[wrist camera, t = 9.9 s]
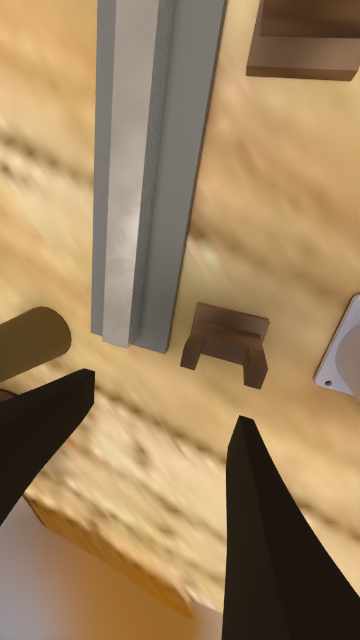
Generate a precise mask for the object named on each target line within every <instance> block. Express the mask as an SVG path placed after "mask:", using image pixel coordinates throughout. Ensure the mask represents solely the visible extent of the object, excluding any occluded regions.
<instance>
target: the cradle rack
mask: <svg viewBox="0 0 360 640" xmlns="http://www.w3.org/2000/svg"><path fill="white" fill-rule="evenodd" d="M359 66H360V0H260V5H259V9H258V14H257V19H256V24H255V28H254V33H253V38H252V43H251V48H250V52H249V57H248V62H247V70H246V75H247V76H266V77H286V78H306V79H326V80H346V81H351V80H352V78H353V77H354V75H355V74H356V72H357V71H358V69H359ZM268 325H269V319H267V318H263V317H258V316H254V315H250V314H246V313H241V312H237V311H233V310H229V309H225V308H220V307H216V306H212V305H208V304H204V303H199V302H198V304H197V306H196V311H195V316H194V320H193V325H192V330H191V334H190V336H189V338H188V340H187V342H186V344H185V346H184V349H183V354H182V359H181V364H180V366H181V367H185V368H188V369H192V370H195V368H196V365H197V362H198V360H199V357H200V354H204V355H208V356H212V357H215V358H219V359H222V360H226V361H230V362H233V363H237V364H240V365H243V371H244V385H246V386H249V387H253V388H256V389H261V387H262V384H263V381H264V379H265V376H266V373H267V371H268V367H267V363H266V359H265V355H264V351H263V346H262V342H263V340H264V337H265V334H266V331H267V328H268Z"/></svg>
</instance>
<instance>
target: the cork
mask: <svg viewBox="0 0 360 640" xmlns="http://www.w3.org/2000/svg"><path fill="white" fill-rule="evenodd" d="M70 345H71V333H70V330H69V328H68V325H67V324H66V322H65V321H64V319H63V318H62V317H61V316H60V315H59V314H58V313H57V312H56V311H54V310H52V309H50V308H47V307H36V308H33V309H31V310H29V311H27V312H25V313H23V314H21V315H19V316H17V317H15V318H13V319H11V320H9V321H7V322H5V323H2V324H0V382H2V381H5V380H7V379H9V378H12V377H14V376H16V375H18V374H21V373H23V372H25V371H27V370H30V369H32V368H34V367H36V366H39V365H41V364H43V363H45V362H48V361H50V360H52V359H55V358H57V357H59V356H61V355H63V354H65V353H66V352H67V351H68V350H69V348H70Z"/></svg>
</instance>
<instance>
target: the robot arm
mask: <svg viewBox="0 0 360 640" xmlns="http://www.w3.org/2000/svg"><path fill="white" fill-rule="evenodd" d="M326 381H330V382H329V383H325V382H326ZM314 382H315V383H316V384H317V385H318V386H321V387H325V388H328V389H332V390H335V391H339V392H343V393H346V394H350V395H353V396H355V397H356V398H357V399H358V401H359V402H360V294H357V295H355V296H354V297H353V298H352V300H351V302H350V304H349V306H348V308H347V310H346V312H345V314H344V317H343V319H342V321H341V323H340V325H339V327H338V329H337V331H336V333H335V335H334V337H333V339H332V341H331V343H330V346H329V348H328V350H327V352H326V354H325V356H324V358H323V360H322V362H321V364H320V366H319V368H318V370H317V372H316V375H315V377H314ZM94 386H95V371H92V370H88V369H85V368H84V369H81V370H78V371H76V372H73V373H71V374H69V375H66V376H64V377H62V378H59V379H57V380H55V381H52V382H50V383H48V384H45V385H43V386H41V387H38V388H36V389H33V390H30V391H28V392H25V393H23V394H20V395H17V396H15V397H12V398H9V399H7V400H4V401H1V402H0V526H1V524H2V523H3V521H4V520H5V519H6V517H7V516H8V514H9V513H10V511H11V510H12V508H13V507H14V505H15V504H16V503H17V501H18V500H19V499H20V497H21V496H22V494H23V493H24V492H25V490H26V489H27V488H28V486H29V485H30V484H31V482H32V481H33V479H34V478H35V477H36V475H37V474H38V473H39V472H40V470H41V469H42V468H43V467H44V465H45V464H46V463H47V462H48V461H49V460H50V458H51V457H52V456H53V455H54V454H55V453H56V451H57V450H58V449H59V448H60V447H61V446H62V444H63V443H64V442H65V441H66V440H67V439H68V437H69V436H70V435H71V434H72V433H73V432H74V430H75V429H76V428H77V427H78V426H79V424H80V423H81V422H82V421H83V419H84V418H85V416H86V415H87V413H88V412H89V410H90V409H91V407H92V406H93V404H94ZM226 508H227V559H226V578H225V595H224V610H223V626H222V640H360V597H359V596H358V594H357V593H356V592H355V590H354V589H353V588H352V586H351V585H350V583H349V582H348V581H347V579H346V578H345V576H344V575H343V574H342V572H341V571H340V569H339V568H338V567H337V565H336V564H335V563H334V561H333V560H332V558H331V557H330V556H329V554H328V553H327V551H326V550H325V548H324V547H323V545H322V544H321V542H320V541H319V539H318V538H317V536H316V535H315V533H314V532H313V530H312V529H311V527H310V526H309V524H308V523H307V521H306V519H305V518H304V516H303V515H302V513H301V511H300V510H299V508H298V506H297V505H296V503H295V501H294V500H293V498H292V496H291V494H290V493H289V491H288V489H287V487H286V485H285V484H284V482H283V480H282V478H281V476H280V474H279V472H278V471H277V469H276V467H275V465H274V463H273V461H272V459H271V457H270V455H269V453H268V451H267V448H266V446H265V444H264V442H263V440H262V438H261V435H260V433H259V431H258V429H257V426H256V424H255V422H254V420H253V419H250V418H247V417H244V416H240V415H239V417H238V420H237V423H236V426H235V429H234V431H233V434H232V437H231V440H230V443H229V446H228V452H227V463H226Z"/></svg>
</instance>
